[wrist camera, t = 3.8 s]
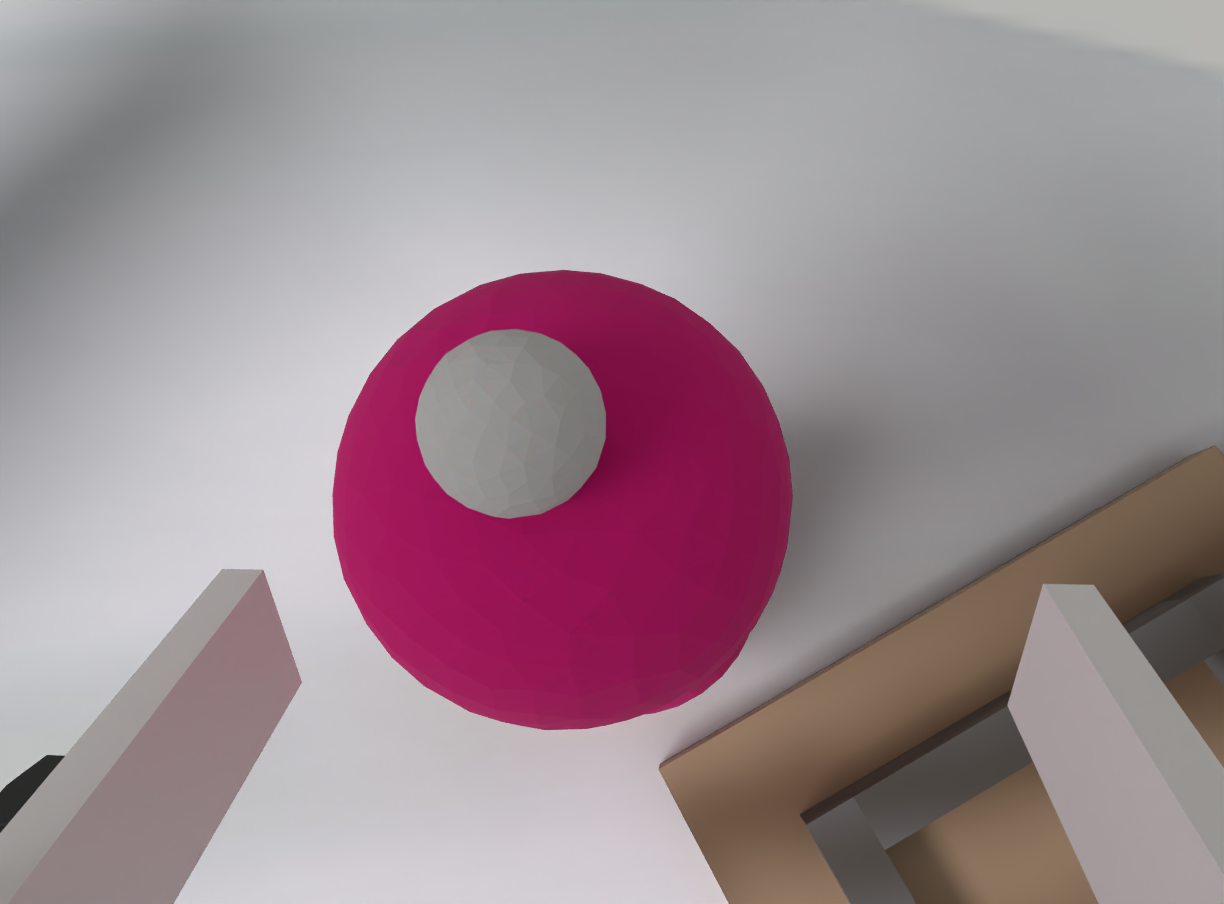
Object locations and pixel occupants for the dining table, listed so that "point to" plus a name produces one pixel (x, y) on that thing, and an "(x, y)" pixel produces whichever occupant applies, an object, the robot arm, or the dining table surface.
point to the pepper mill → (562, 501)
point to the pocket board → (956, 725)
